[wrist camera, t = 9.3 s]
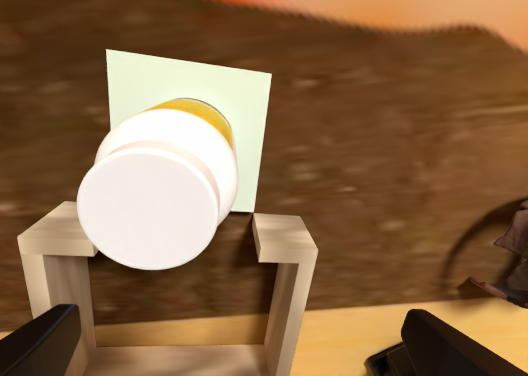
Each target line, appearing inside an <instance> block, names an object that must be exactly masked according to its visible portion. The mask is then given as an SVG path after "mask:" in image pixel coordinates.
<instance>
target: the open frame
mask: <svg viewBox="0 0 528 376" xmlns="http://www.w3.org/2000/svg"><path fill="white" fill-rule="evenodd" d="M252 228H253V233H254V239H255V244H256V250H257V255H258V261H259V262H274V263H278V268H277V274H276V280H275V285H274V291H273V297H272V302H271V308H270V314H269V319H268V325H267V331H266V336H265V342H264V344H257V345H192V346H127V347H96V339H95V329H94V319H93V309H92V300H91V290H90V280H89V270H88V260H87V256H95V254H96V253H97V252H98V249H97V248H96V247H95V246H94V245H93V244H92V242H91V241H90V240H89V239H88V237H87V236H86V234H85V232H84V230H83V229H82V226H81V224H80V221H79V218H78V212H77V202H68V201H65V202H63V203H62V204H61V205H59V206H58V207H57V208H55V209H54V210H53V211H51V212H50V213H49V214H47V215H46V216H45V217H43V218H42V219H41V220H39V221H38V222H37V223H35V224H34V225H33V226H31V227H30V228H29V229H27V230H26V231H25V232H23V233H22V234H21V235H19V236H18V237H17V238H18V243H19V248H20V253H21V258H22V263H23V269H24V274H25V279H26V284H27V289H28V294H29V299H30V304H31V309H32V314H33V319H35V318H36V317H38V316H40V315H41V314H43V313H44V312H46V311H48V310H49V309H51V308H52V307H54V306H56V305H58V304H77V305H78V307H79V311H80V319H81V328H82V331H81V337H80V340H79V342H78V345H77V347H76V349H75V352H74V354H73V357H72V359H71V361H70V364H69V366H68V369H67V371H66V373H65V376H289V375H290V370H291V366H292V362H293V357H294V353H295V349H296V344H297V340H298V336H299V331H300V327H301V323H302V318H303V314H304V310H305V305H306V301H307V297H308V292H309V288H310V284H311V279H312V275H313V271H314V266H315V262H316V258H317V253H318V249H317V247H316V245H315V243H314V241H313V239H312V238H311V236H310V234H309V232H308V230H307V228H306V227H305V225H304V223H303V221H302V219H301V217H300V216H290V215H274V214H258V213H254V214H253V222H252Z"/></svg>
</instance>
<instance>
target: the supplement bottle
mask: <svg viewBox="0 0 528 376" xmlns="http://www.w3.org/2000/svg"><path fill="white" fill-rule="evenodd" d="M238 179H239V176H238V167H237V157H236V147H235V139H234V134H233V131H232V128H231V126H230V124H229V122H228V120H227V119H226V118H225V116H224V115H223V114H222V113H221V112H220V111H219V110H218V109H217V108H215V107H214V106H212V105H211V104H209V103H207V102H205V101H202V100H199V99H194V98H177V99H173V100H169V101H166V102H164V103H161V104H159V105H156V106H154V107H152V108H149V109H147V110H145V111H142V112H140V113H137V114H135V115H133V116H131V117H129V118H127V119H125V120H124V121H122V122H121V123H119V124H118V125H117V126H115V127H114V128H113V129H112V130H111V131H110V132H109V133H108V135H107V136H106V137H105V139H104V140H103V142H102V143H101V145H100V147H99V150H98V152H97V155H96V159H95V164H94V166H93V167H92V168H91V169H90V170H89V171H88V173H87V174H86V176H85V177H84V179H83V181H82V183H81V185H80V188H79V191H78V196H77V212H78V218H79V221H80V224H81V226H82V229H83V230H84V232H85V234H86V236H87V237H88V239H89V240H90V241H91V242H92V244H93V245H94V246H95V247H96V248H97V249H98V250H100V251H101V252H102V253H103V254H105V255H106V256H107V257H109V258H111V259H112V260H114V261H116V262H118V263H120V264H123V265H126V266H129V267H132V268H137V269H144V270H161V269H168V268H173V267H176V266H180V265H182V264H184V263H186V262H188V261H190V260H192V259H193V258H195V257H196V256H197V255H198V254H200V253H201V252H202V251H203V250H204V249H205V248H206V247H207V245H208V244H209V242H210V241H211V239H212V238H213V236H214V233H215V231H216V228H217V226H218V225H219V224H220V223H221V222H222V221H223V220H224V219H225V217H226V216H227V215H228V213H229V211H230V210H231V208H232V206H233V204H234V201H235V199H236V195H237V190H238Z"/></svg>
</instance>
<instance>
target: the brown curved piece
mask: <svg viewBox="0 0 528 376" xmlns="http://www.w3.org/2000/svg"><path fill="white" fill-rule="evenodd" d="M519 210H520V211H517V212H515V214H514V216H513V217H512V220H511V224H510V227H509V230H508V231H507V233H506V234H505V235H504V236H503V237H501V238H499V239H497V240H496V241H495V242H494V245H496V246H501V247H503V248H506V249H508V250H510V251H512V252H514V253H516V254H518V255H521V256H522V257H524V258H526V259H527V261H525V262H523V263H521V264H519V265H517V266H516V267H515V269H514V271H513V273H512V274H511V276H509V277H508V278H507V280H506V281H507V282H506V283H503V284H501V285H496V286H493V285H490V284H488V283H486V282H481V281H480V280H479V279H477V278H475V277H473V276H470V277H469V280H470V281H471V282H472V283H474V284H475V285H477V286H479V287H481V288H483V289H484V290H485V291H487V292H488V293H491V294H493V295H494V296H496V297H499V298H502V299H505V300H507V301H509V302H511V303H513V304H514V305H518V306H520V307H522V308H526V309H528V200H526V201H524V202H522V203H521V204H520V206H519Z"/></svg>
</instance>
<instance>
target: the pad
mask: <svg viewBox="0 0 528 376" xmlns="http://www.w3.org/2000/svg"><path fill="white" fill-rule="evenodd" d="M106 54H107V71H108V88H109V106H110V123H111V130H112V129H113V128H114V127H115V126H117V125H118V124H119V123H121V122H122V121H124V120H125V119H127V118H129V117H131V116H133V115H135V114H137V113H140V112H142V111H145V110H147V109H149V108H152V107H154V106H156V105H159V104H161V103H164V102H166V101H169V100H173V99H177V98H194V99H199V100H202V101H205V102H207V103H209V104H211V105H212V106H214V107H215V108H217V109H218V110H219V111H220V112H221V113H222V114H223V115H224V116H225V118H226V119H227V120H228V122H229V124H230V126H231V128H232V131H233V134H234V139H235V147H236V157H237V167H238V176H239V179H238V190H237V195H236V199H235V201H234V204H233V206H232V208H231V210H230V211H241V212H254V205H255V198H256V190H257V182H258V175H259V167H260V159H261V152H262V144H263V136H264V129H265V121H266V114H267V106H268V98H269V91H270V83H271V75H272V74H269V73H262V72H256V71H249V70H242V69H235V68H229V67H222V66H215V65H208V64H202V63H195V62H188V61H182V60H175V59H168V58H161V57H155V56H148V55H141V54H134V53H128V52H121V51H114V50H107V49H106Z"/></svg>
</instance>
